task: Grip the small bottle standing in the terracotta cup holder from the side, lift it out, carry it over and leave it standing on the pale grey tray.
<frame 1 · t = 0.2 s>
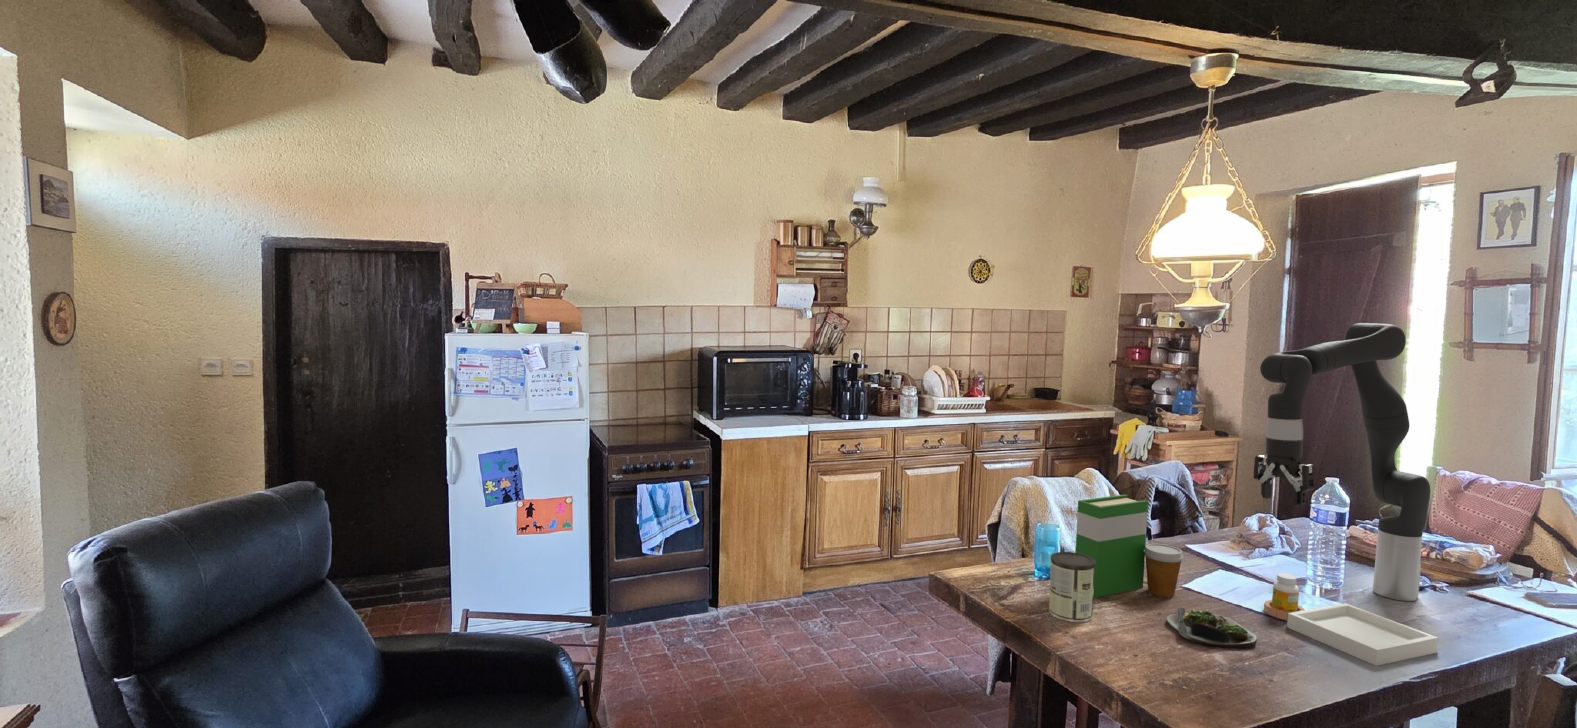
hand: (1282, 501, 184), 29 cm above the table, tool pointing down, fingers open, 8 cm apart
hardback book: (1108, 588, 203), on the table
supplement bottle: (1284, 614, 188), resting in cup holder
disposable coffee cup: (1160, 593, 200), on the table
salad plate: (1209, 635, 175), on the table
coffee can: (1070, 614, 185), on the table
tray: (1359, 639, 173), on the table
cup holder: (1284, 613, 187), on the table
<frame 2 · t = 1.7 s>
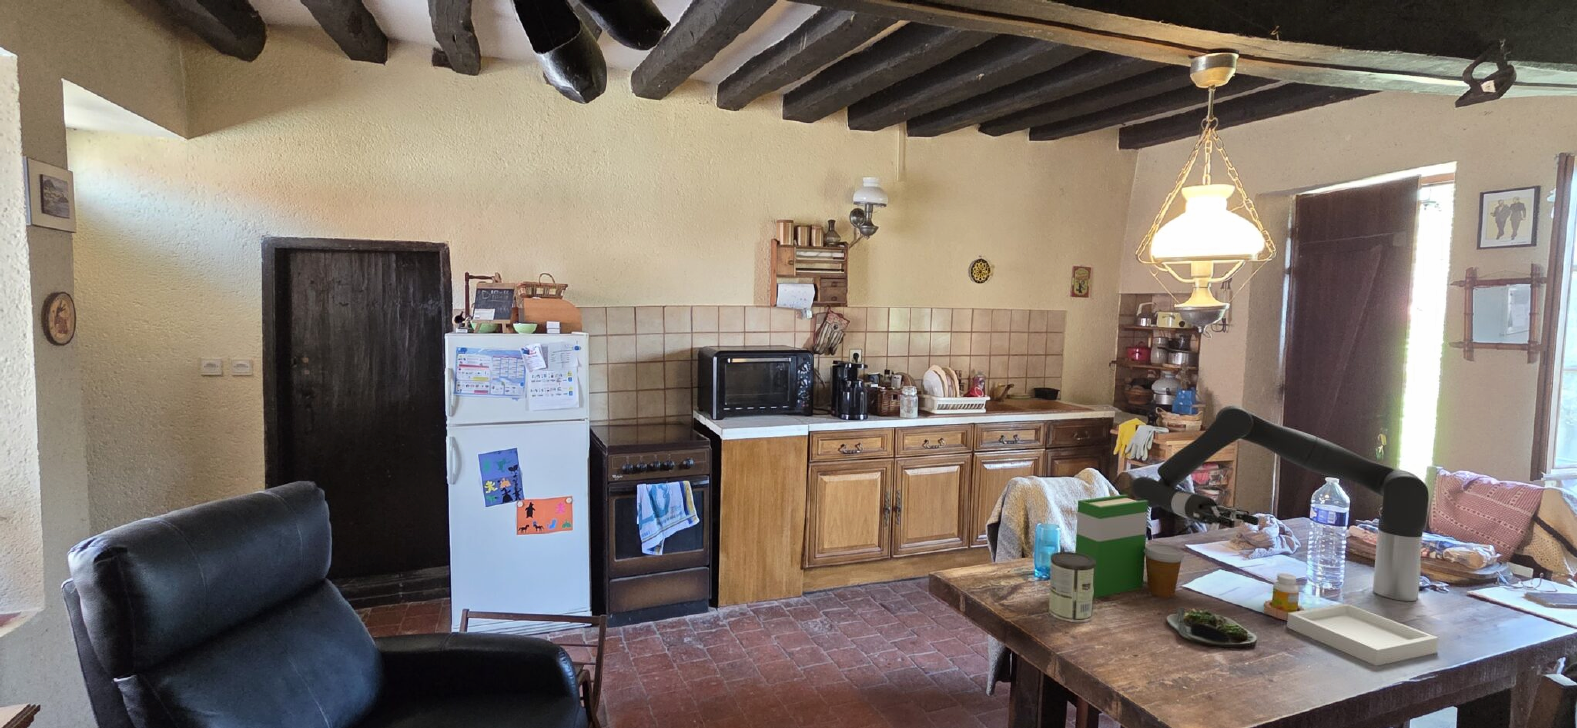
hand: (1245, 522, 197), 20 cm above the table, tool horizontal, fingers open, 8 cm apart
nothing on the table moved.
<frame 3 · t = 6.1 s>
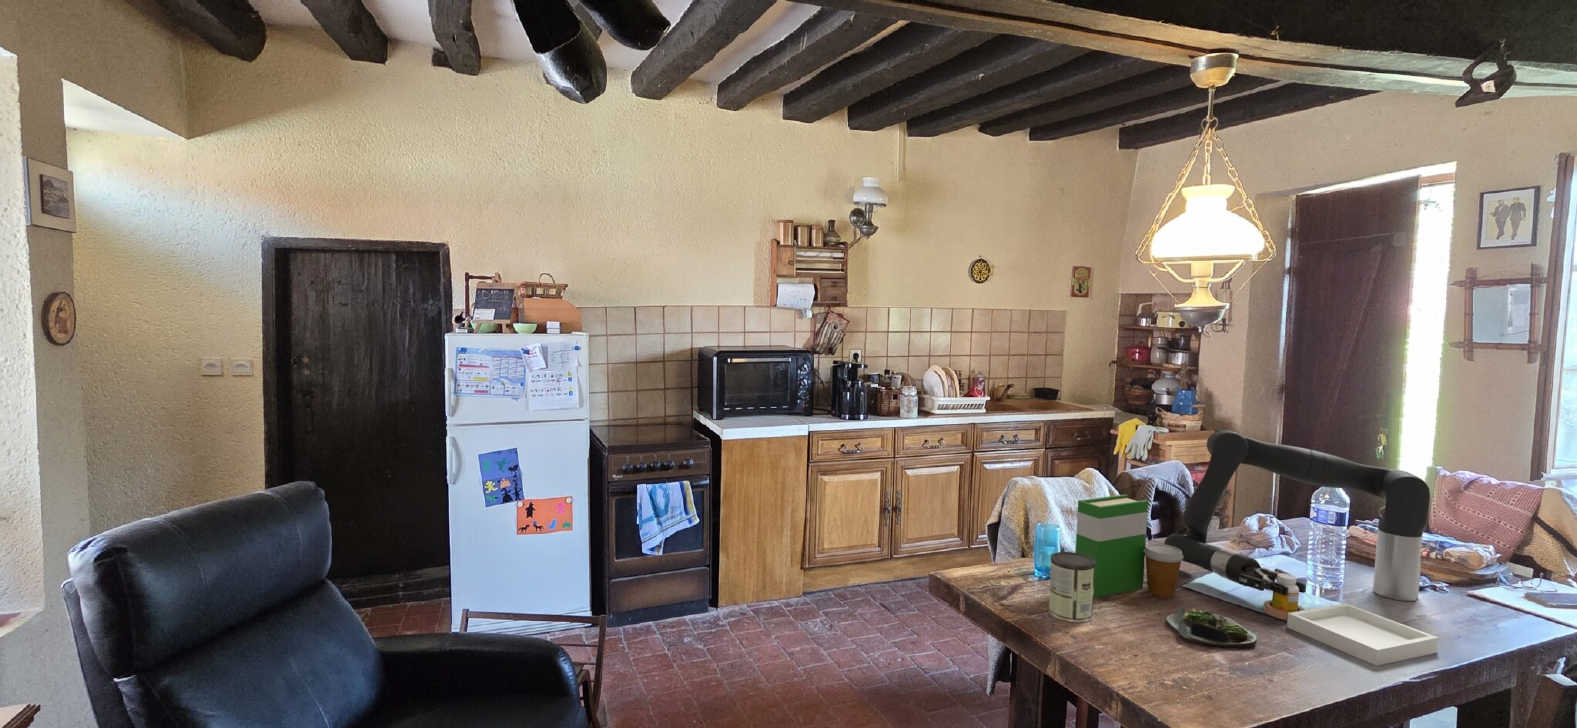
hand: (1296, 589, 185), 7 cm above the table, tool horizontal, fingers closed on supplement bottle, 5 cm apart
supplement bottle: (1284, 614, 188), resting in cup holder, touching gripper
everything else where it was.
when the fingers open (10 cm above the table, at t = 11.3 s): supplement bottle drops 1 cm, resting on tray.
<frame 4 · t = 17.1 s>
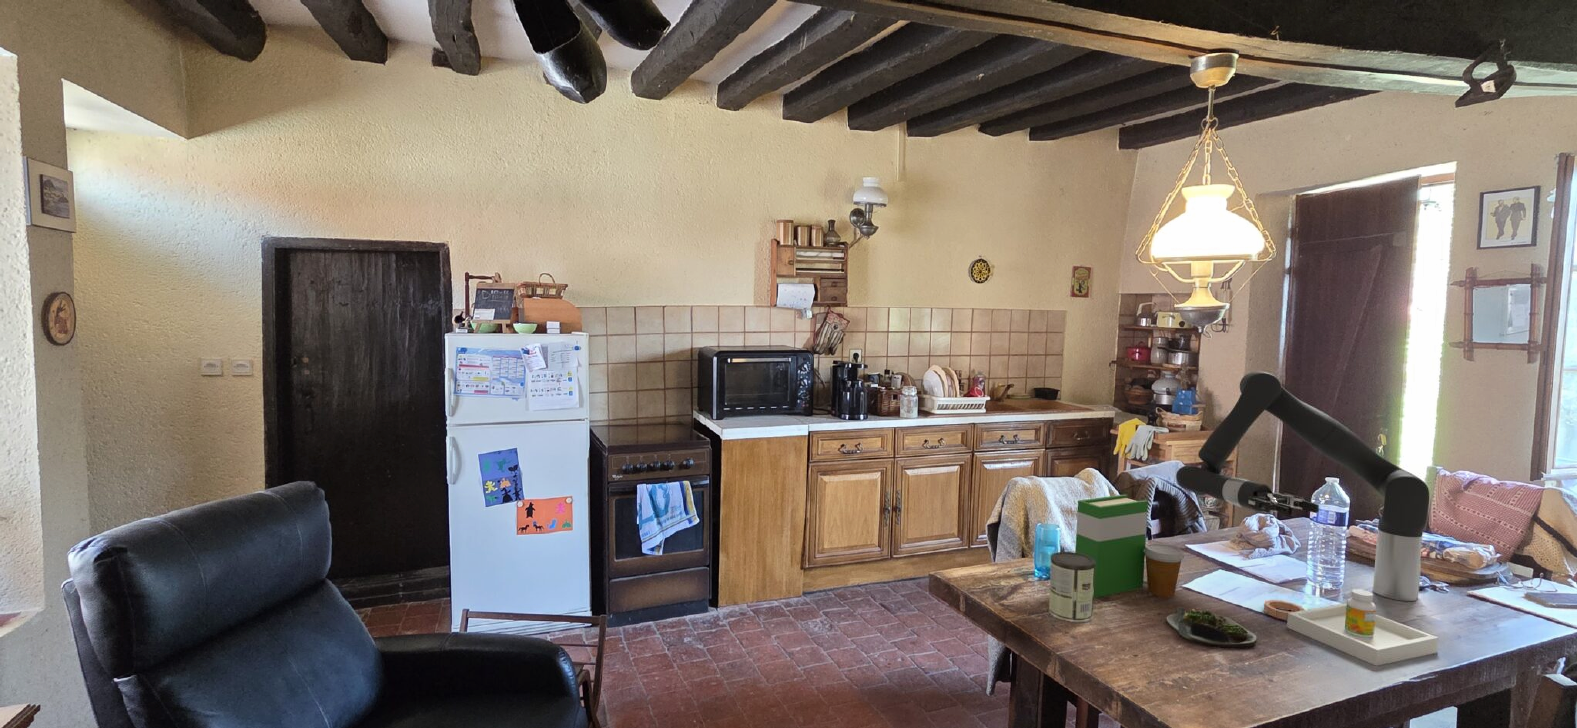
hand: (1305, 509, 187), 26 cm above the table, tool horizontal, fingers open, 8 cm apart
supplement bottle: (1358, 633, 173), point 1 cm above the table, touching tray
everything else where it was.
at the end: supplement bottle inside the target area on the tray (0.1 cm from its centre), point 1.3 cm above the tray's base; supplement bottle tilted 0°; the gripper is holding nothing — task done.
